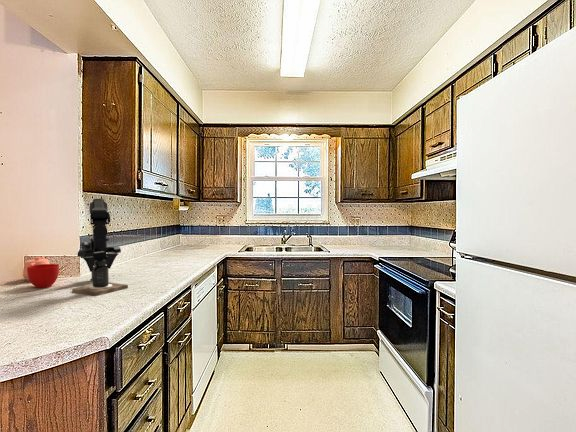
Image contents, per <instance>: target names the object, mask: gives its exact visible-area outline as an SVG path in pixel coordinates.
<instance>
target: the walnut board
mask: <svg viewBox="0 0 576 432" xmlns="http://www.w3.org/2000/svg"><path fill="white" fill-rule="evenodd" d="M128 285H129V284H124V283H117V282H110V281H109V285H108V286H105V287H93V283H92V284H88V285H84V286H83V285H82V286H78V287H73V288H71V292H72V293H76V294H77V293H78V294H83V295H89V296H94V297H95V296H96V297H97V296H100V295H104V294H109V293H113V292H117V291H120V290H122V291H123V290H125V289H126V290H127V289H128V288H129V286H128Z"/></svg>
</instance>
